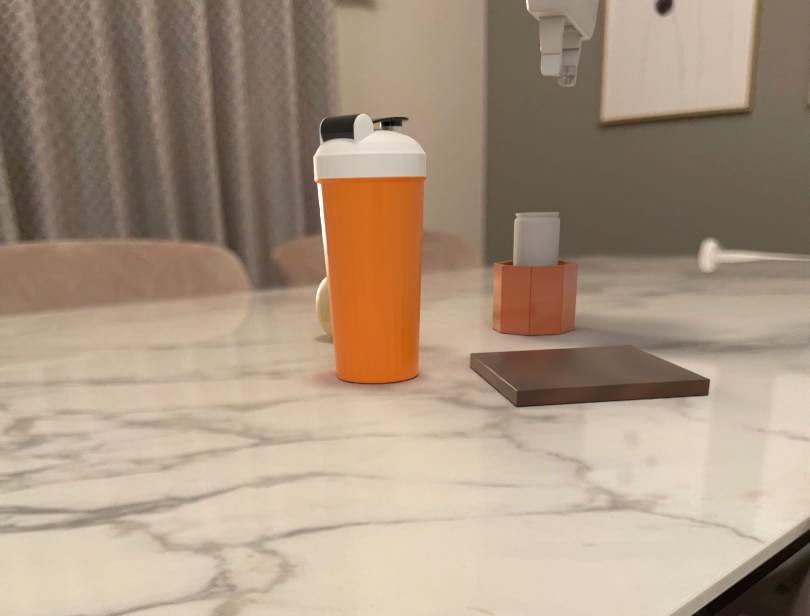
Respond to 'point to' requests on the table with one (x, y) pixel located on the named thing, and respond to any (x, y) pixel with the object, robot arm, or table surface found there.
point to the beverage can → (536, 239)
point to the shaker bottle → (372, 244)
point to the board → (585, 375)
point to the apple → (324, 307)
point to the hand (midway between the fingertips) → (559, 81)
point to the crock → (534, 298)
